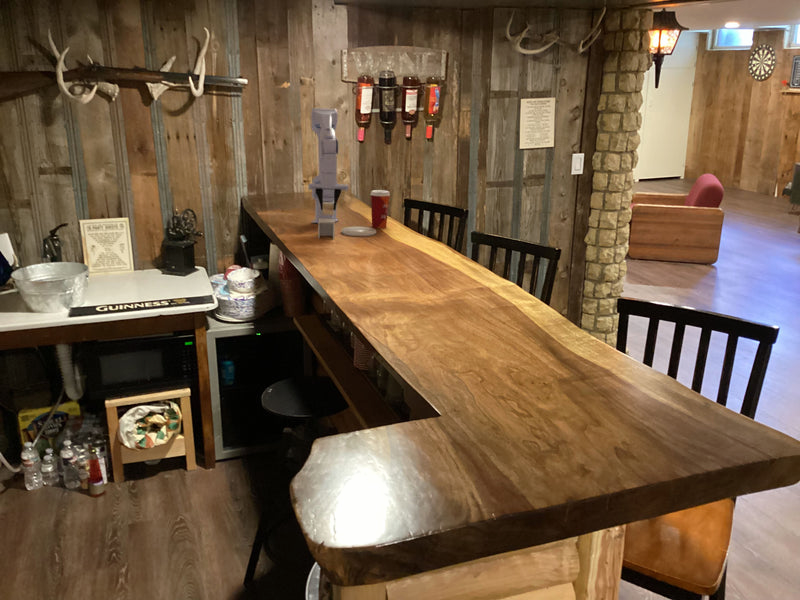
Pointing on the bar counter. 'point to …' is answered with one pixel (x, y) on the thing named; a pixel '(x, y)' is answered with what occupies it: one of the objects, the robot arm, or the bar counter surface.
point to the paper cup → (379, 208)
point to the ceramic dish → (358, 231)
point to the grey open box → (326, 227)
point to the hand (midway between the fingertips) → (328, 209)
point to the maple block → (328, 208)
